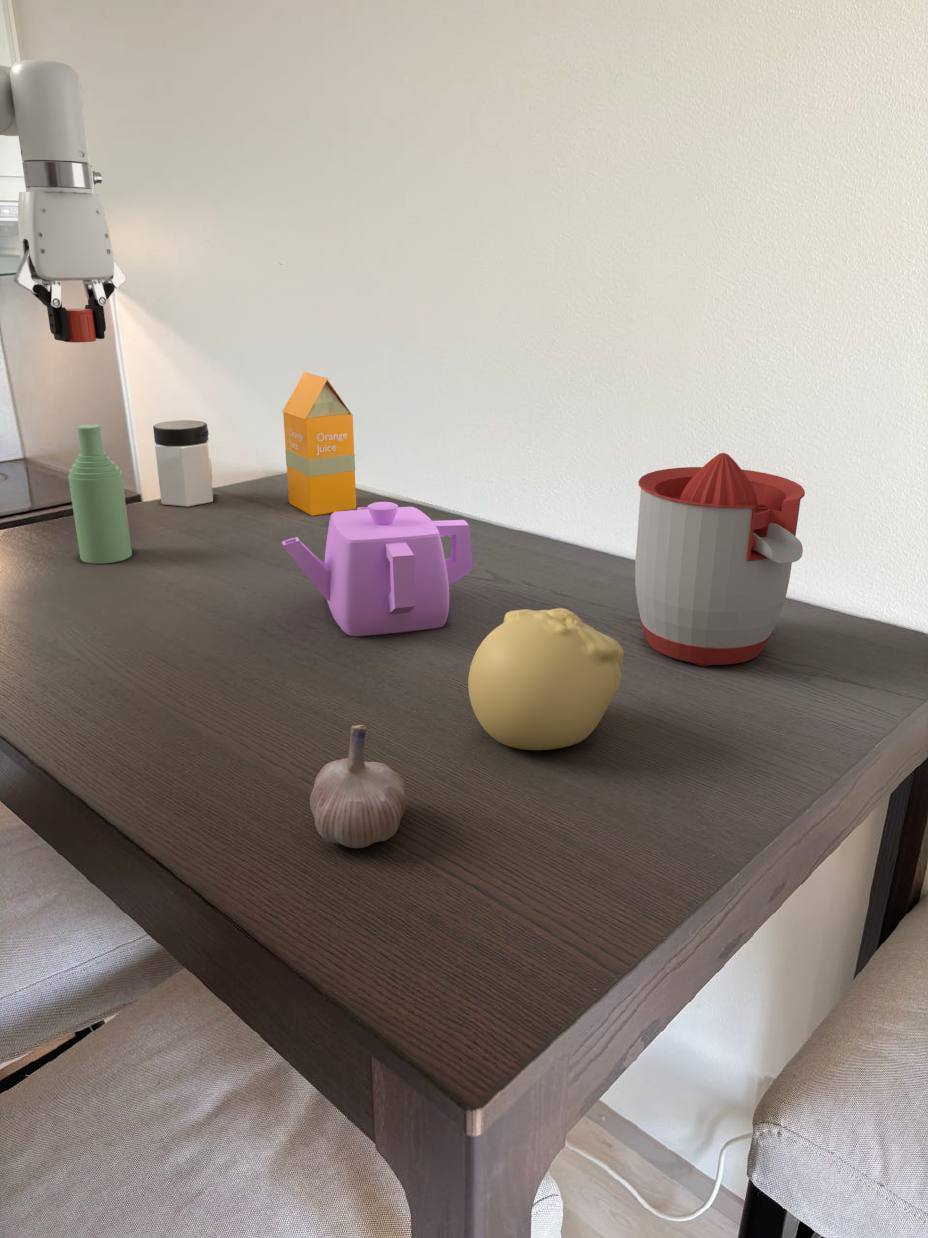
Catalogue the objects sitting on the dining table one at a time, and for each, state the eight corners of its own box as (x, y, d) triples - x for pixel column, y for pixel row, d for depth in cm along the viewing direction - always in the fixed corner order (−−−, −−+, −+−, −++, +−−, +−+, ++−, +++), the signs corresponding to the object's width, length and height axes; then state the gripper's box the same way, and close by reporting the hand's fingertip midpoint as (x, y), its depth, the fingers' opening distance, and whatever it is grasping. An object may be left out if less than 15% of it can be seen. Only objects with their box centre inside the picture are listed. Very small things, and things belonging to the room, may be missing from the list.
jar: (214, 505, 149) (206, 428, 145) (159, 508, 147) (150, 430, 143) (214, 492, 157) (208, 418, 153) (163, 494, 155) (155, 420, 151)
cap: (72, 343, 118) (67, 310, 117) (58, 340, 121) (53, 309, 119) (101, 341, 121) (98, 309, 120) (87, 338, 124) (83, 307, 122)
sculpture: (637, 732, 81) (647, 614, 77) (541, 783, 73) (546, 654, 69) (537, 689, 89) (541, 579, 85) (441, 731, 81) (441, 612, 77)
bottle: (70, 561, 123) (49, 429, 117) (98, 547, 129) (80, 420, 122) (114, 565, 122) (96, 431, 115) (141, 550, 127) (125, 422, 121)
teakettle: (412, 652, 96) (410, 534, 92) (277, 622, 104) (269, 512, 99) (487, 600, 110) (488, 496, 106) (363, 577, 118) (360, 478, 113)
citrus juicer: (714, 698, 87) (738, 482, 80) (596, 634, 101) (607, 446, 94) (830, 662, 94) (862, 462, 87) (705, 608, 108) (723, 431, 101)
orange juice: (332, 496, 155) (326, 370, 147) (357, 508, 148) (352, 376, 140) (287, 503, 151) (279, 373, 143) (310, 515, 144) (303, 380, 136)
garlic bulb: (364, 787, 72) (361, 692, 70) (435, 824, 68) (434, 724, 65) (286, 830, 67) (278, 729, 64) (357, 872, 63) (352, 766, 60)
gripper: (109, 184, 122) (126, 333, 129) (-26, 177, 111) (0, 341, 118) (138, 182, 117) (155, 337, 124) (0, 175, 106) (26, 345, 113)
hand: (79, 337), depth 121 cm, fingers closed on cap, 3 cm apart
